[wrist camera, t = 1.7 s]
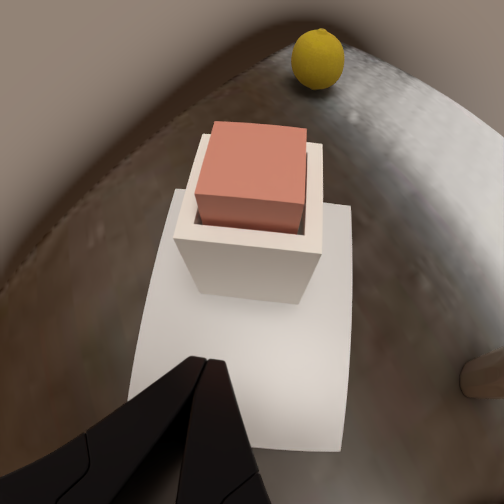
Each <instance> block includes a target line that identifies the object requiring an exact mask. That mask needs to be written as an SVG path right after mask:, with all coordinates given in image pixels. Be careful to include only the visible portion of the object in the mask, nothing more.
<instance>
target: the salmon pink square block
mask: <svg viewBox="0 0 504 504" xmlns="http://www.w3.org/2000/svg"><path fill="white" fill-rule="evenodd" d="M305 174H306V129H304V128H296V127H286V126H276V125H265V124H253V123H238V122H219V121H215V123H214V126H213V129H212V133H211V136H210V139H209V143H208V146H207V150H206V153H205V156H204V160H203V164H202V167H201V171H200V174H199V178H198V182H197V185H196V189H195V193H194V195H195V198H196V202H197V206H198V209H199V213H200V216H201V220H202V224H203V225H208V226H218V227H228V228H238V229H248V230H258V231H267V232H277V233H286V234H295V235H297V232H298V228H299V224H300V220H301V216H302V212H303V208H304V201H305Z"/></svg>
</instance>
